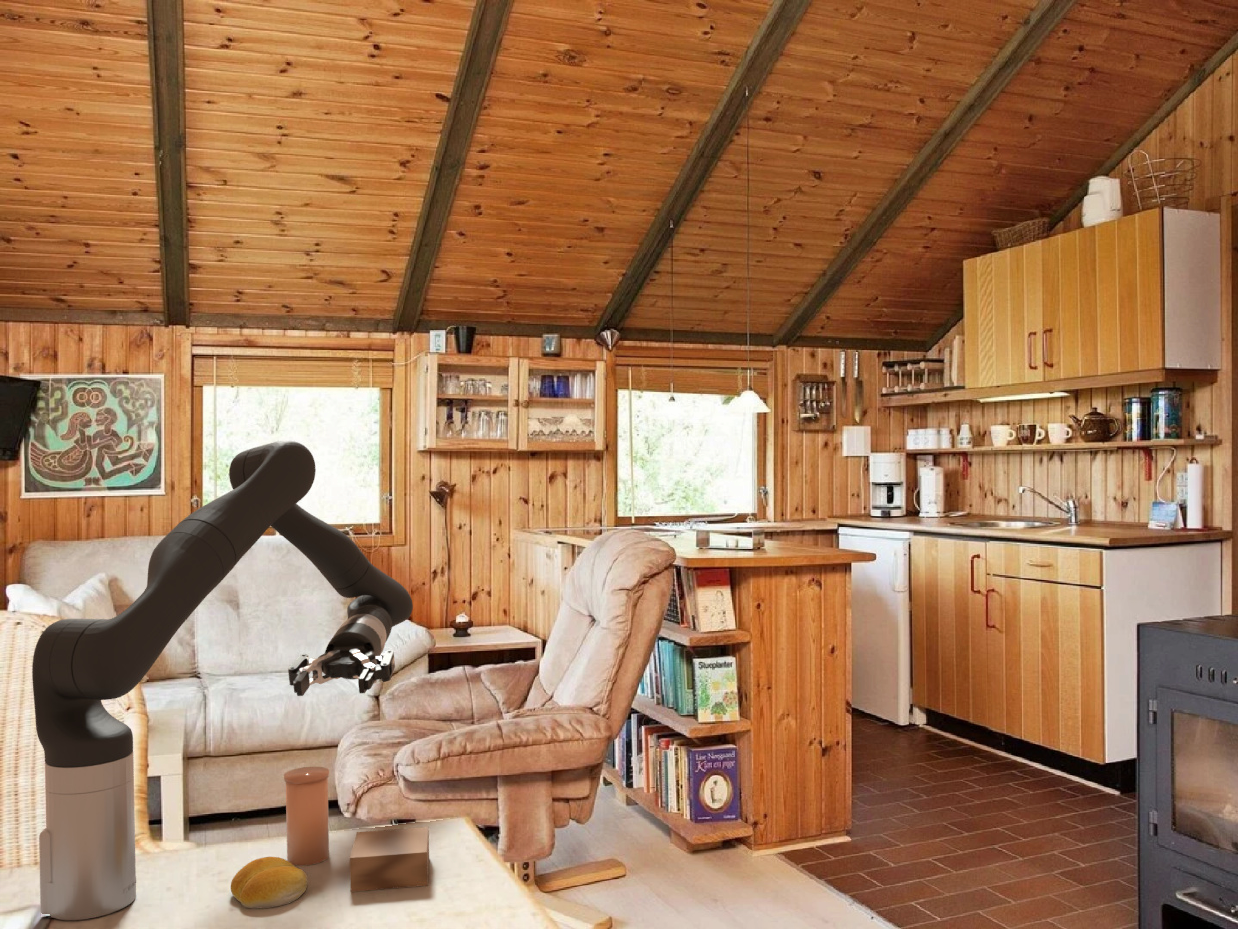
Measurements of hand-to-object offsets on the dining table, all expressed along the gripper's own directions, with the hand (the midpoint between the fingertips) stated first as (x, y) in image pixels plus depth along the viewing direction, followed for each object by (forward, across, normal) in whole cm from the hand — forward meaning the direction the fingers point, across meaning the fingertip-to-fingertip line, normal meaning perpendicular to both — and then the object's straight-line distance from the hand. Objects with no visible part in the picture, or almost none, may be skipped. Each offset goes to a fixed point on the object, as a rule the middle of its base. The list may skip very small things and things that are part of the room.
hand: (330, 688), depth 143 cm
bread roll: (+22, -3, +17) cm, 28 cm away
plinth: (+18, +10, +18) cm, 27 cm away
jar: (+11, -2, +18) cm, 22 cm away
